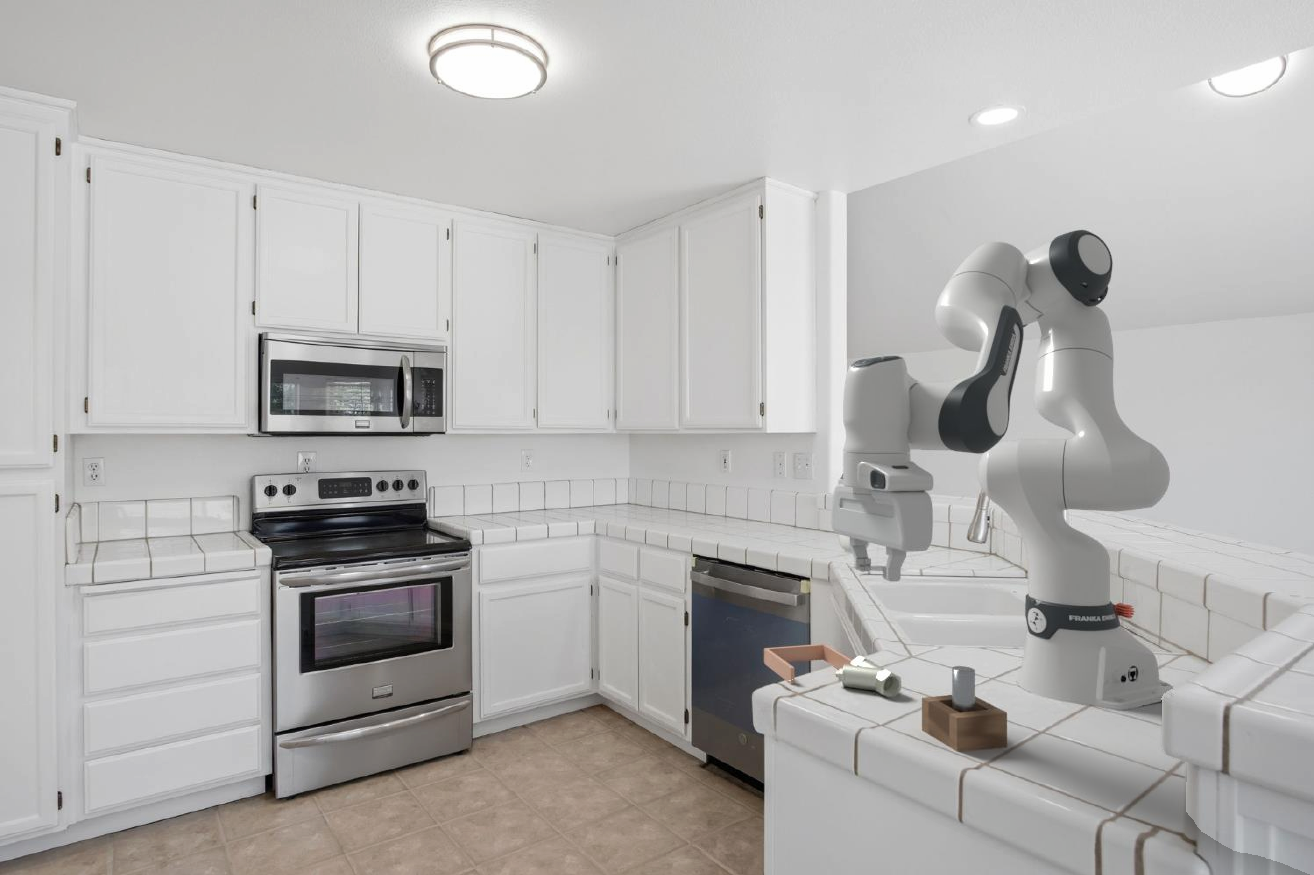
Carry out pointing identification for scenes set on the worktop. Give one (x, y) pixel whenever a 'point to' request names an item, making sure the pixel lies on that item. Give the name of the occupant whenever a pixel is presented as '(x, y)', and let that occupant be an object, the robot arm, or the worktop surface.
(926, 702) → the block
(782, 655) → the corral
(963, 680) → the cylinder
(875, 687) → the pipe fitting
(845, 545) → the lidded jar
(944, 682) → the worktop surface
